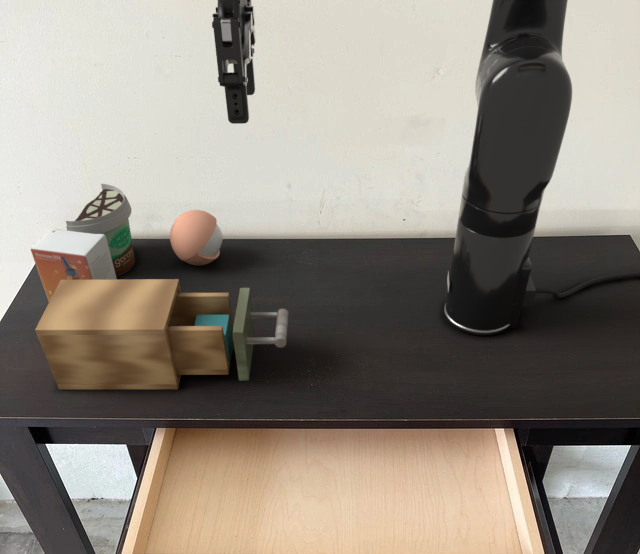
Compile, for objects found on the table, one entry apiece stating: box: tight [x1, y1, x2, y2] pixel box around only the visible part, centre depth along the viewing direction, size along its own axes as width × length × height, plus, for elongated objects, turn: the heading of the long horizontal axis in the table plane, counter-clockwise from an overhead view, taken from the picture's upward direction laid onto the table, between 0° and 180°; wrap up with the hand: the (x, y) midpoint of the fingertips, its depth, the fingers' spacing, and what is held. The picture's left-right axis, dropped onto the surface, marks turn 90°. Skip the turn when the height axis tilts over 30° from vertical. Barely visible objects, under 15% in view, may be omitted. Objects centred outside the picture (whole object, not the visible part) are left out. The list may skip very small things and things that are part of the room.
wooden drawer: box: [167, 287, 290, 381], centre depth 80 cm, size 18×9×7 cm, turn 89°
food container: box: [65, 183, 136, 278], centre depth 96 cm, size 12×6×10 cm, turn 168°
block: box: [194, 315, 233, 360], centre depth 81 cm, size 4×4×4 cm
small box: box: [30, 227, 118, 303], centre depth 88 cm, size 8×6×10 cm
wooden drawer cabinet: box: [35, 278, 183, 390], centre depth 80 cm, size 15×10×9 cm
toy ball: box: [169, 209, 224, 266], centre depth 97 cm, size 8×8×8 cm
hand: (242, 107), depth 74 cm, fingers open, 8 cm apart
